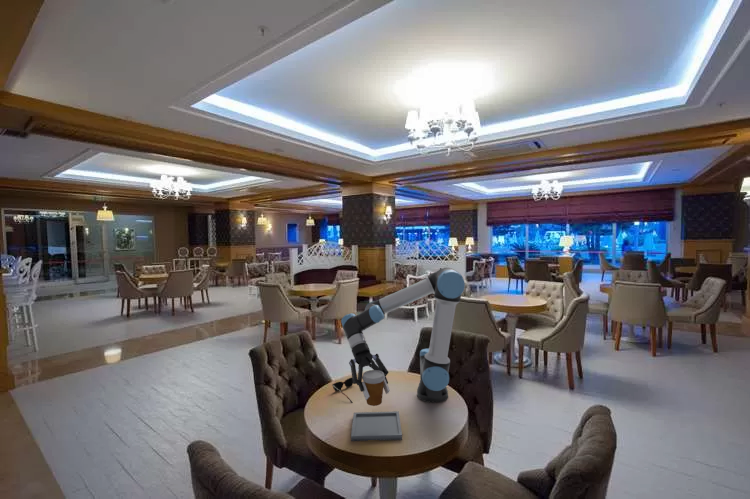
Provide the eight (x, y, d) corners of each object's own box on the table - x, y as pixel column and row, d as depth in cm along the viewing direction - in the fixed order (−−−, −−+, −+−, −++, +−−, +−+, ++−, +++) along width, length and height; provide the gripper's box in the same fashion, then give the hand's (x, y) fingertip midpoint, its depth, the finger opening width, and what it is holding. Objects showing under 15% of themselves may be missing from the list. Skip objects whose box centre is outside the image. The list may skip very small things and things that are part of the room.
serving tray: (398, 415, 157) (398, 411, 157) (402, 439, 138) (402, 434, 138) (353, 416, 157) (353, 412, 156) (351, 441, 138) (351, 436, 138)
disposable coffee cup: (383, 408, 142) (382, 379, 141) (360, 407, 143) (359, 378, 143) (387, 397, 151) (386, 370, 150) (365, 396, 153) (364, 368, 152)
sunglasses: (354, 385, 190) (354, 376, 189) (372, 397, 177) (372, 388, 177) (332, 393, 181) (332, 383, 181) (349, 406, 169) (349, 396, 168)
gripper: (377, 346, 165) (396, 392, 152) (334, 355, 154) (351, 405, 141) (382, 337, 160) (403, 385, 147) (339, 346, 149) (357, 398, 136)
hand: (377, 395), depth 144 cm, fingers closed on disposable coffee cup, 9 cm apart
